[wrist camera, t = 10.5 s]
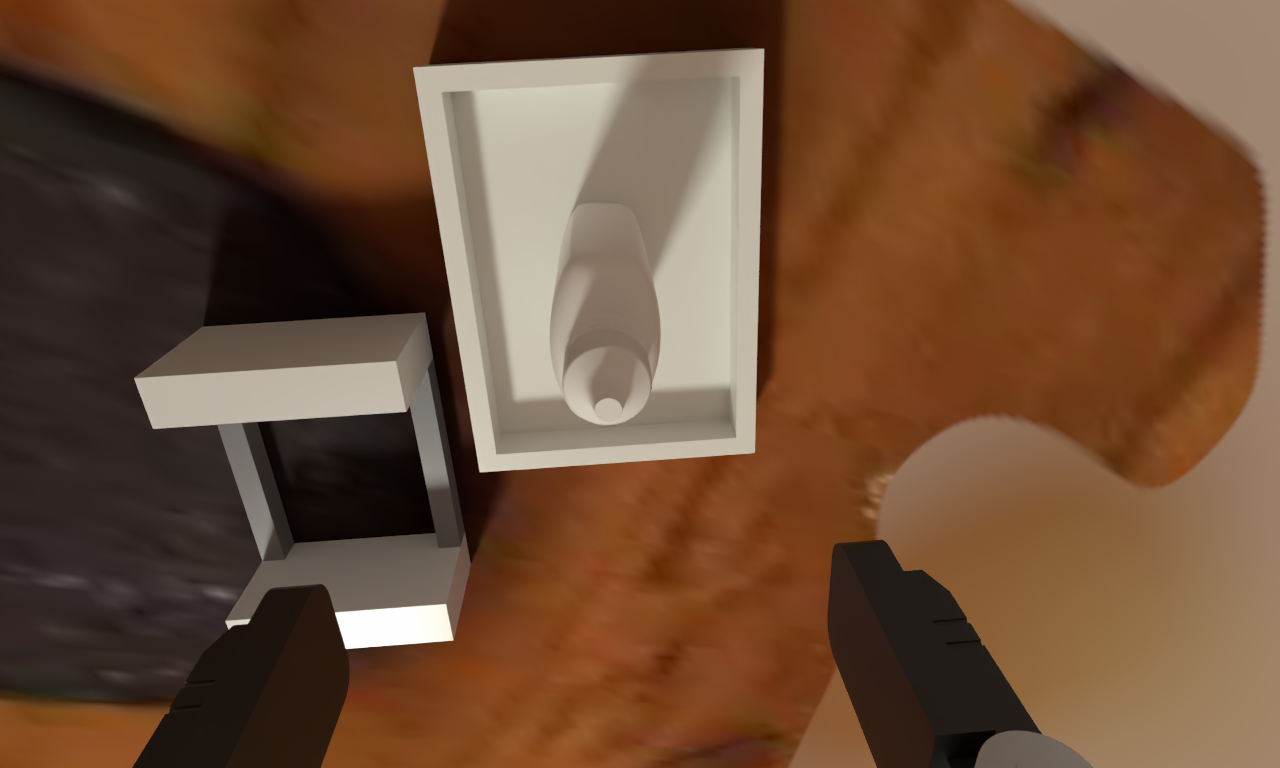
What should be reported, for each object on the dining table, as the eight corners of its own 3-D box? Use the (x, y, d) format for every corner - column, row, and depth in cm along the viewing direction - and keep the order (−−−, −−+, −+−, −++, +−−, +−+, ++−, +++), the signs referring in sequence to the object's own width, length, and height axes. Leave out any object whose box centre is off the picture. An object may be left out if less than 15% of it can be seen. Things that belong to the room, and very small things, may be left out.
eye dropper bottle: (520, 303, 30) (478, 458, 19) (589, 180, 28) (587, 273, 17) (614, 353, 31) (626, 526, 20) (686, 238, 29) (743, 360, 18)
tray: (428, 64, 26) (412, 67, 24) (749, 47, 27) (764, 48, 25) (487, 442, 33) (479, 472, 31) (743, 424, 34) (754, 452, 31)
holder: (202, 326, 30) (134, 378, 26) (425, 312, 30) (395, 360, 26) (283, 578, 36) (238, 657, 31) (470, 564, 36) (453, 640, 31)
